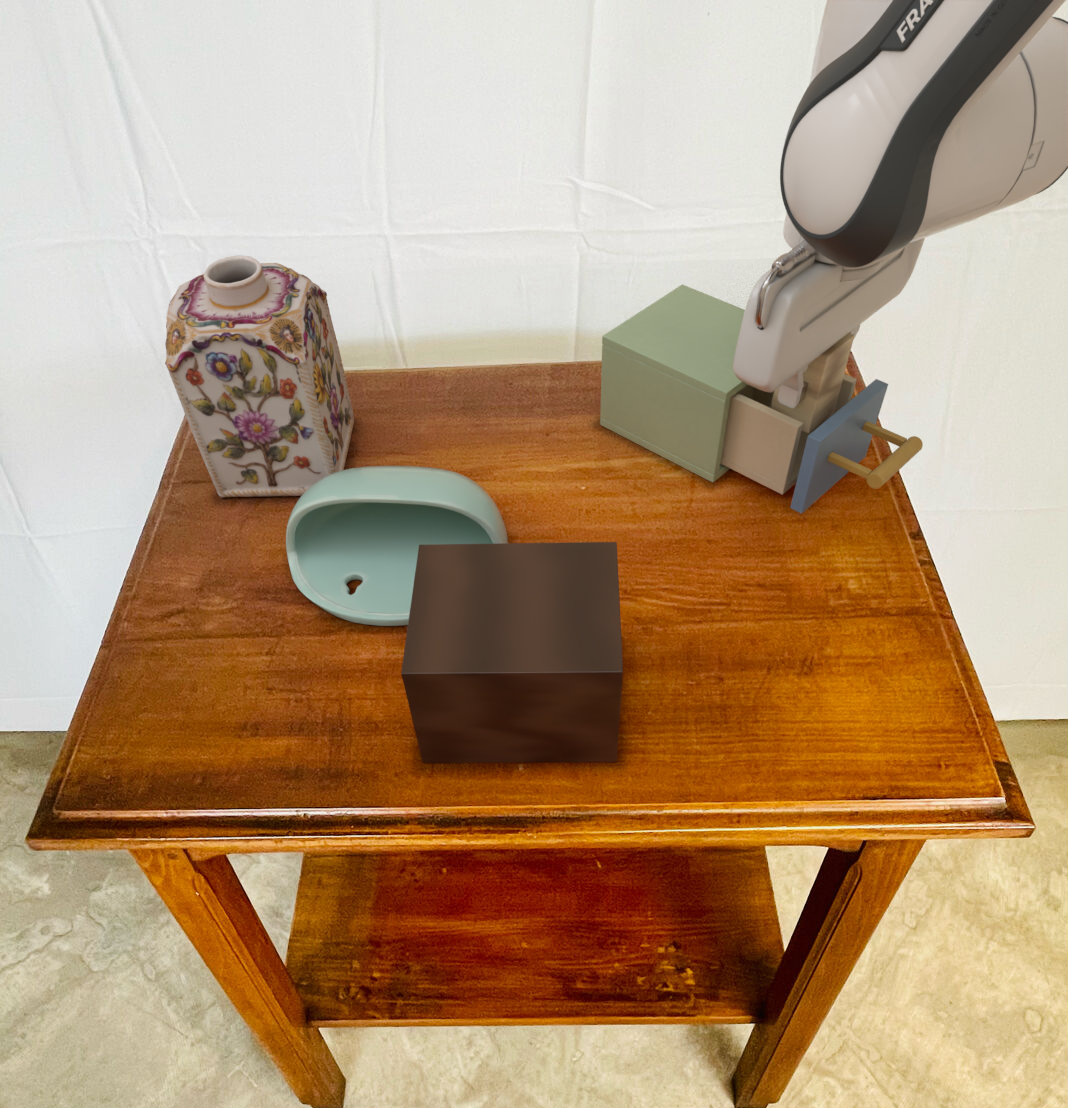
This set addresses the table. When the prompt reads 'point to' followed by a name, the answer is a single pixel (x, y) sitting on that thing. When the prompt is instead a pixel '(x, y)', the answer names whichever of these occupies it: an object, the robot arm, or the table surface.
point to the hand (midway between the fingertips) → (808, 387)
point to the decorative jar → (259, 377)
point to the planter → (381, 535)
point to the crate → (515, 653)
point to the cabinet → (674, 378)
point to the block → (820, 386)
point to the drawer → (810, 443)
